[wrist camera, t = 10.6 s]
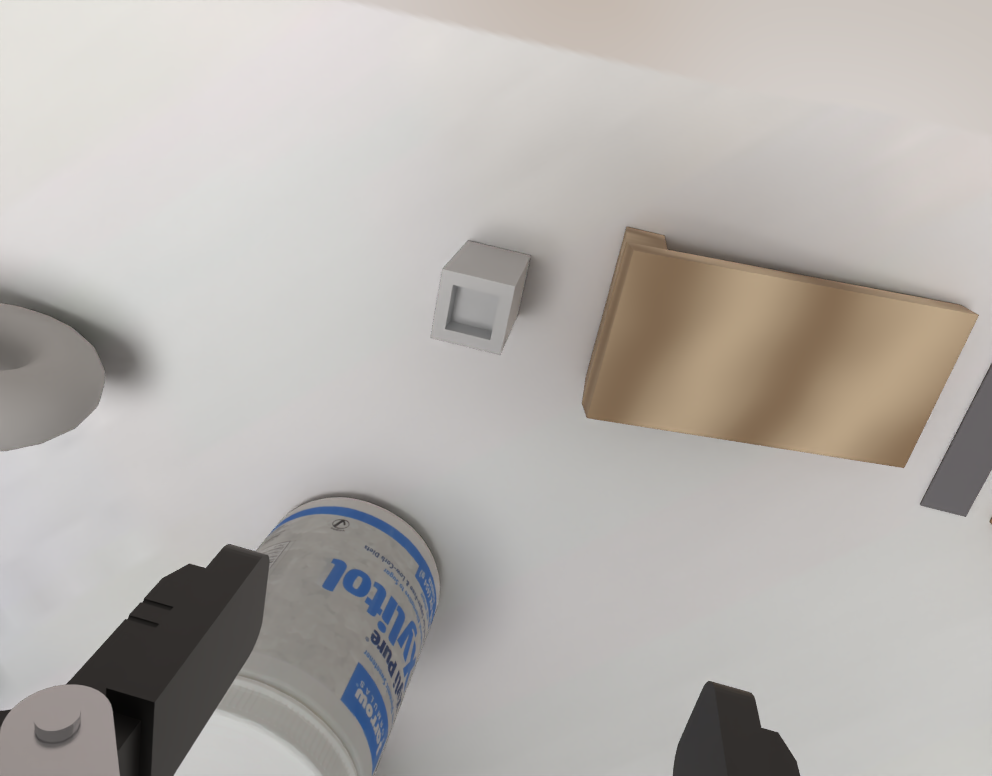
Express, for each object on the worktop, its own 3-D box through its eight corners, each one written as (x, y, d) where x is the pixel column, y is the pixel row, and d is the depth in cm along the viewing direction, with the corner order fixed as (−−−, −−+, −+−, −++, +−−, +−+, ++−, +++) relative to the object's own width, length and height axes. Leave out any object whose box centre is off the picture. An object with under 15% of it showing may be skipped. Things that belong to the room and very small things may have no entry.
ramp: (585, 377, 35) (580, 416, 31) (626, 226, 32) (626, 249, 28) (895, 454, 34) (928, 503, 30) (966, 306, 31) (1013, 339, 27)
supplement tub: (480, 571, 40) (404, 828, 27) (374, 666, 44) (261, 933, 30) (333, 453, 38) (177, 661, 25) (237, 561, 42) (55, 793, 29)
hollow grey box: (456, 301, 34) (430, 337, 30) (467, 240, 33) (442, 268, 29) (517, 316, 34) (500, 355, 30) (530, 255, 33) (515, 286, 28)
